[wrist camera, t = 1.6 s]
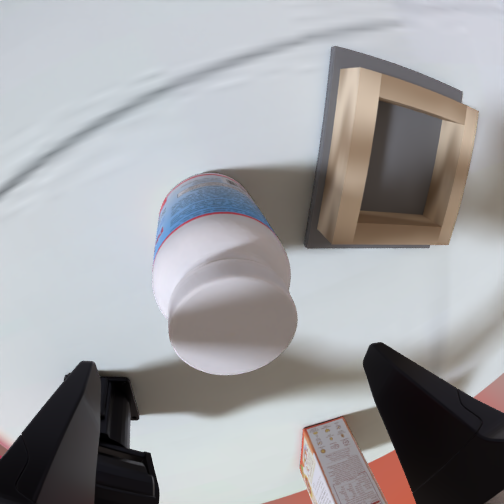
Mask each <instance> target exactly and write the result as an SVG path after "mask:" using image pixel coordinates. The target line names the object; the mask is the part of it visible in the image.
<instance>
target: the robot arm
mask: <svg viewBox="0 0 504 504" xmlns="http://www.w3.org/2000/svg"><path fill="white" fill-rule="evenodd" d="M363 367H364V370H365V373H366V376H367V379H368V382H369V386H370V389H371V392H372V395H373V398H374V401H375V403H376V406H377V408H378V411H379V413H380V415H381V417H382V420H383V422H384V424H385V427H386V429H387V432H388V434H389V436H390V439H391V441H392V443H393V446H394V448H395V450H396V453H397V455H398V458H399V460H400V463H401V465H402V468H403V470H404V472H405V475H406V478H407V480H408V483H409V485H410V488H411V491H412V492H413V496H414V499H415V501H416V504H504V413H502V412H501V411H498V410H496V409H494V408H492V407H490V406H488V405H486V404H484V403H482V402H480V401H478V400H476V399H474V398H473V397H471V396H469V395H468V394H466V393H464V392H462V391H461V390H459V389H457V388H456V387H454V386H452V385H451V384H449V383H448V382H446V381H444V380H443V379H441V378H439V377H438V376H436V375H434V374H433V373H431V372H429V371H428V370H426V369H424V368H423V367H421V366H420V365H418V364H416V363H415V362H413V361H411V360H410V359H408V358H406V357H405V356H403V355H402V354H400V353H398V352H397V351H395V350H393V349H392V348H390V347H389V346H387V345H385V344H384V343H382V342H378V343H372V344H371V345H370V346H369V348H368V350H367V353H366V355H365V357H364V360H363ZM124 382H125V383H124ZM138 419H139V412H138V409H137V405H136V401H135V398H134V394H133V390H132V386H131V382H130V380H129V379H128V378H125V377H99V374H98V371H97V368H96V365H95V363H94V362H93V361H81V362H80V363H79V364H78V365H77V366H76V368H75V369H74V370H73V371H72V372H71V373H70V375H65V377H64V382H63V383H62V384H61V385H60V387H59V388H58V389H57V390H56V391H55V393H54V394H53V395H52V396H51V397H50V399H49V400H48V401H47V402H46V403H45V405H44V406H43V407H42V408H41V410H40V411H39V412H38V413H37V415H36V416H35V417H34V418H33V419H32V421H31V422H30V423H29V425H28V426H27V427H26V428H25V430H24V431H23V432H22V435H20V436H19V437H18V438H17V440H16V441H15V442H14V443H13V445H12V446H11V447H10V448H9V450H8V451H7V452H6V453H5V454H4V456H3V457H2V458H1V459H0V504H159V486H158V482H157V478H156V474H155V470H154V466H153V462H152V458H151V453H148V452H140V451H136V450H132V449H130V420H138Z"/></svg>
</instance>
